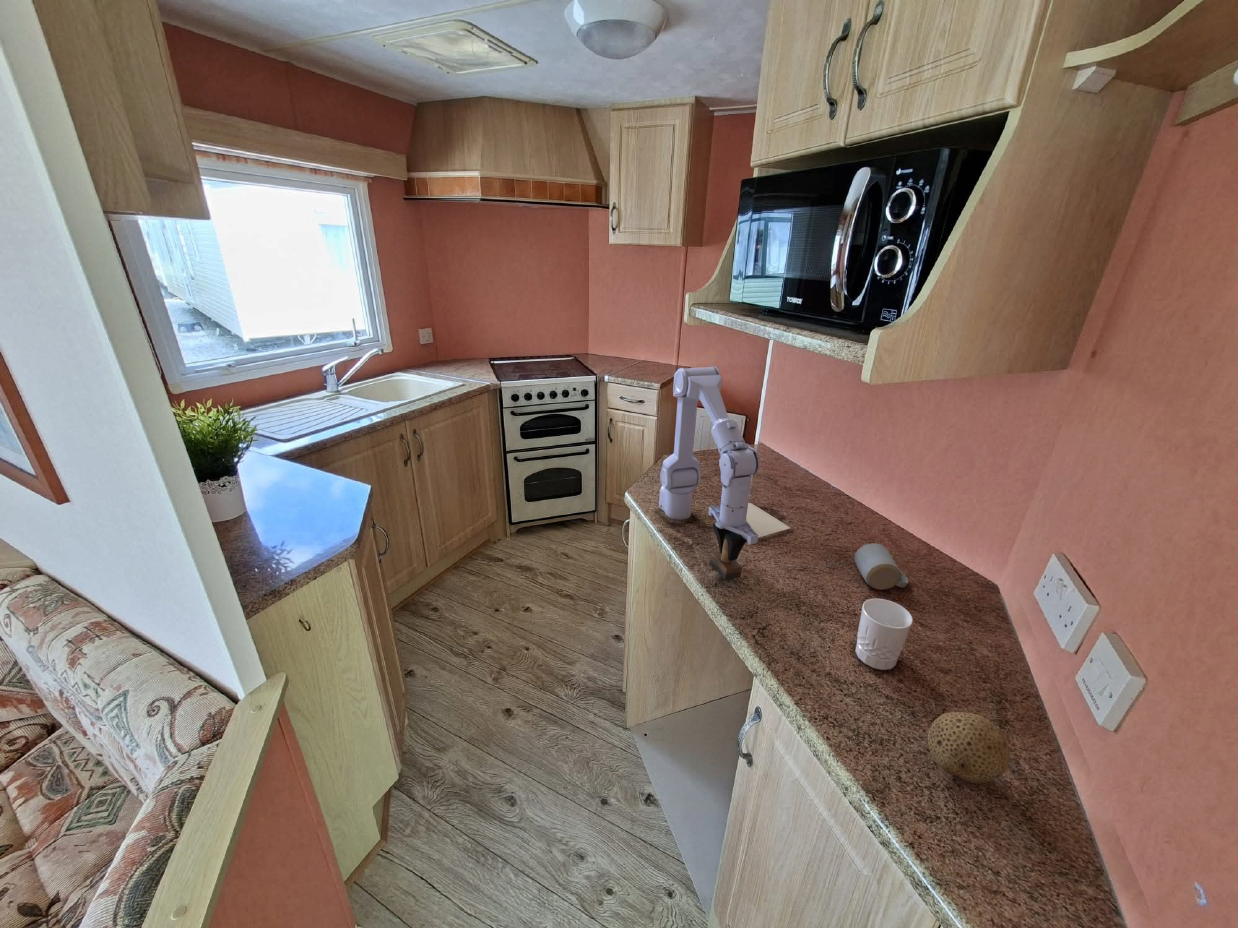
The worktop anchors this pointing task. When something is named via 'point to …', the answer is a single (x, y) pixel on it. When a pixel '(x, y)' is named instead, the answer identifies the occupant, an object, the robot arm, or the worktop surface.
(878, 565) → the ceramic mug
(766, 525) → the tile
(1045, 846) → the worktop surface
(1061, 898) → the worktop surface
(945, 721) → the natural sponge
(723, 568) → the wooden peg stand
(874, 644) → the white cup
